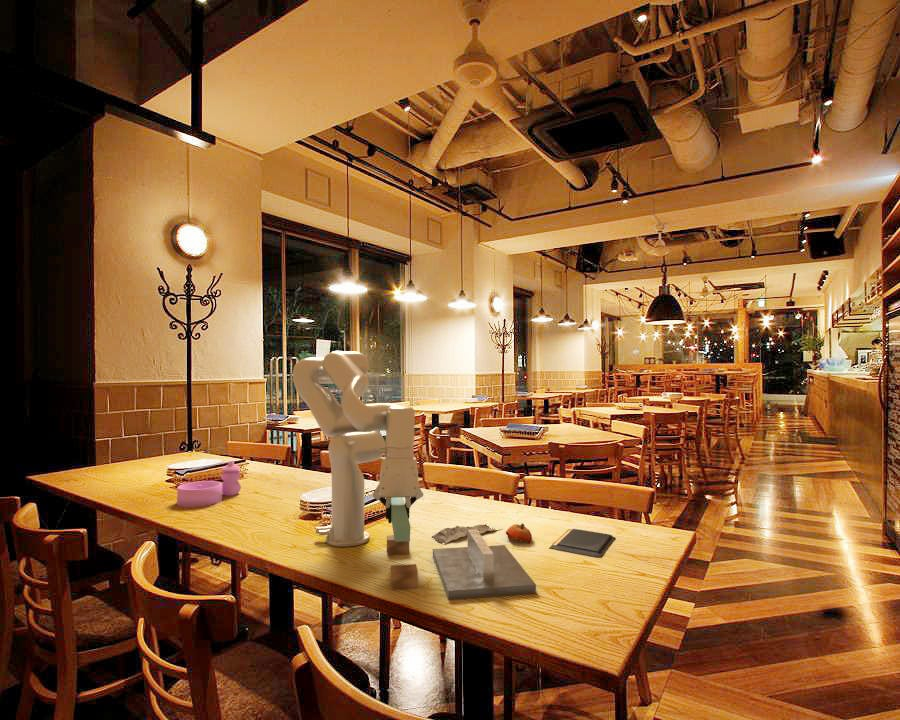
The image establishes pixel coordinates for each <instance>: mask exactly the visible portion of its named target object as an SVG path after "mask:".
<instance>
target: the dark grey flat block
mask: <svg viewBox="0 0 900 720" xmlns="http://www.w3.org/2000/svg"><path fill="white" fill-rule="evenodd" d="M615 540H616V537H615V536H613V535H611V534H608V533H603V532H597V531H592V530H591V531H590V530H586V529H585V530H583V529H578V528H577V529H576V528H572V529H567V530H566V531H565V532H564V533H563V534H562V535H561V536H560V537H559V538H557V540H556V541H555V542H554V543H552V545H550V547H549V548H548V549H549V550H555V551H559V552H564V553H569V554H573V555H574V554H575V555H579V556H584V557H591V558H596V559H602V557H604V556H605V554H606V553H607V551H608V549H609V548H610V547H611V545H612V544H613V542H615Z"/></svg>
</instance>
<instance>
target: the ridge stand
mask: <svg viewBox="0 0 900 720" xmlns="http://www.w3.org/2000/svg"><path fill="white" fill-rule="evenodd" d="M432 559H433V561H434V565H435V564H436V565H435V567H436V569H437V572H438V576H439V578H440V580H441V583H442V587H443V589H444V592H445V595H446V597H447V600H448V601H453V600H454V599H456V600H467V598H470V599H481V598H482V597H483V598H495V597H494V596H497V597H506V596H509V597H510V595H511V596H522V595H533V594H534V595H535V594H537V584H536V583H535V582H534V580H533V579H532V578H531V576H530V575H529V574H528V573H527V571H526V570H525V569H524V568H523V566H522V565H521V564H520V563H519V562H518V560H517V559H516V558H515V556H514V555H513V554H512V553H511V552H510V550H509V549H508V547H506V545H504V544H499V545H497V544H496V545H488V544H487V542H486V541H485V539H484V538H483V536H482V535H481V534H479V532H478V531H477V529H472V530H468V535H467V546H466V547H465V546H464V547H463V546H461V547H446V548H432Z"/></svg>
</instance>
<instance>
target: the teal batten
mask: <svg viewBox="0 0 900 720" xmlns="http://www.w3.org/2000/svg"><path fill="white" fill-rule="evenodd" d="M390 504H391V526H392V531H393V534H392V535H394V540H395V542H400V541H409V542H411V523H410V518H409V519H408V515H407V511H406V507H405V499H404V497H391V503H390Z"/></svg>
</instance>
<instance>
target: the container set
mask: <svg viewBox="0 0 900 720" xmlns="http://www.w3.org/2000/svg"><path fill="white" fill-rule="evenodd" d="M227 463H228V464H227V465H225V466H223V467H222V468H221V471H222V473H221V476H220V479H221V480H222V481H223V482H221V481H218V480H216V481H215V480H201V481H200V480H199V481H193V482H191V481H190V482H187V483H183V484H179V485H178V486H177V488H176V489H177V491H176V506H179V507H181V508H201V507H207V506H213V505H215V504H218V503H220V502H222V501H223V496H228V497H230V496H236V495H238V494H239V492H240V491H241V489H242V485H241V483H240V481H239V480H240V479H241V475H242V474H241V472H240V470H241V467H240V466H239V465H237V464H235V461H232V460H231V461H228V462H227Z"/></svg>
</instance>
